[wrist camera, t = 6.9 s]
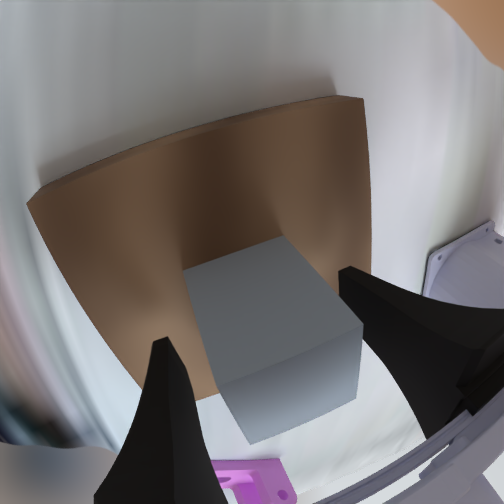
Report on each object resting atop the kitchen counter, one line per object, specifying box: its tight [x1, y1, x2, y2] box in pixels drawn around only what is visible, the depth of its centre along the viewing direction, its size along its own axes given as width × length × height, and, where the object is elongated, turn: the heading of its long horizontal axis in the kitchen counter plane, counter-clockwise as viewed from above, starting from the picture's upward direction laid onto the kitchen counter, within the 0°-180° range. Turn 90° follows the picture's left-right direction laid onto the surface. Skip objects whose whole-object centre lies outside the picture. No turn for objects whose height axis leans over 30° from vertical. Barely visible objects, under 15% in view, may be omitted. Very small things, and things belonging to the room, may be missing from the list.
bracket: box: [211, 459, 297, 504], centre depth 25 cm, size 13×6×7 cm, turn 56°
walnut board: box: [26, 95, 372, 401], centre depth 15 cm, size 14×14×2 cm
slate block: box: [183, 235, 364, 445], centre depth 12 cm, size 4×4×6 cm
